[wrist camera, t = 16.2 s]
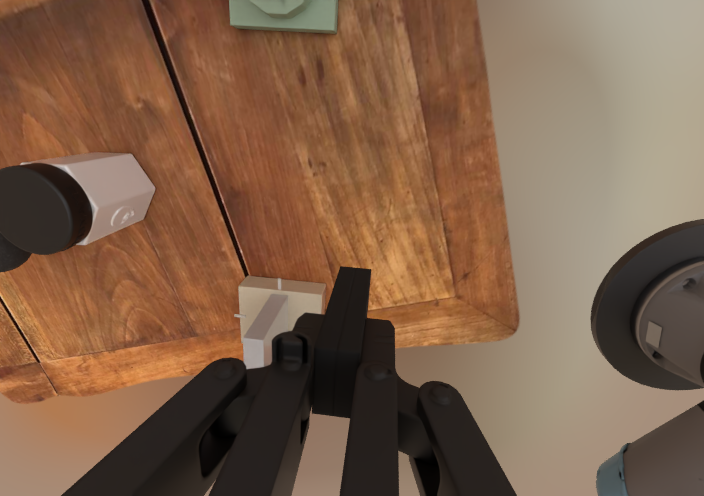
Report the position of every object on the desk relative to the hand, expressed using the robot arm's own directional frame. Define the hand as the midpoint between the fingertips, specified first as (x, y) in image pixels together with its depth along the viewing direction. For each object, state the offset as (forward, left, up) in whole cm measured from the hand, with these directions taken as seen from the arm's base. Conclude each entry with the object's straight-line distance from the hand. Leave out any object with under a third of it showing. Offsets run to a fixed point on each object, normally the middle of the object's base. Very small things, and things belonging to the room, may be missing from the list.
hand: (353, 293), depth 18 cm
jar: (+30, +2, -25) cm, 39 cm away
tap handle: (+10, +16, -21) cm, 28 cm away
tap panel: (+10, +16, -24) cm, 31 cm away
